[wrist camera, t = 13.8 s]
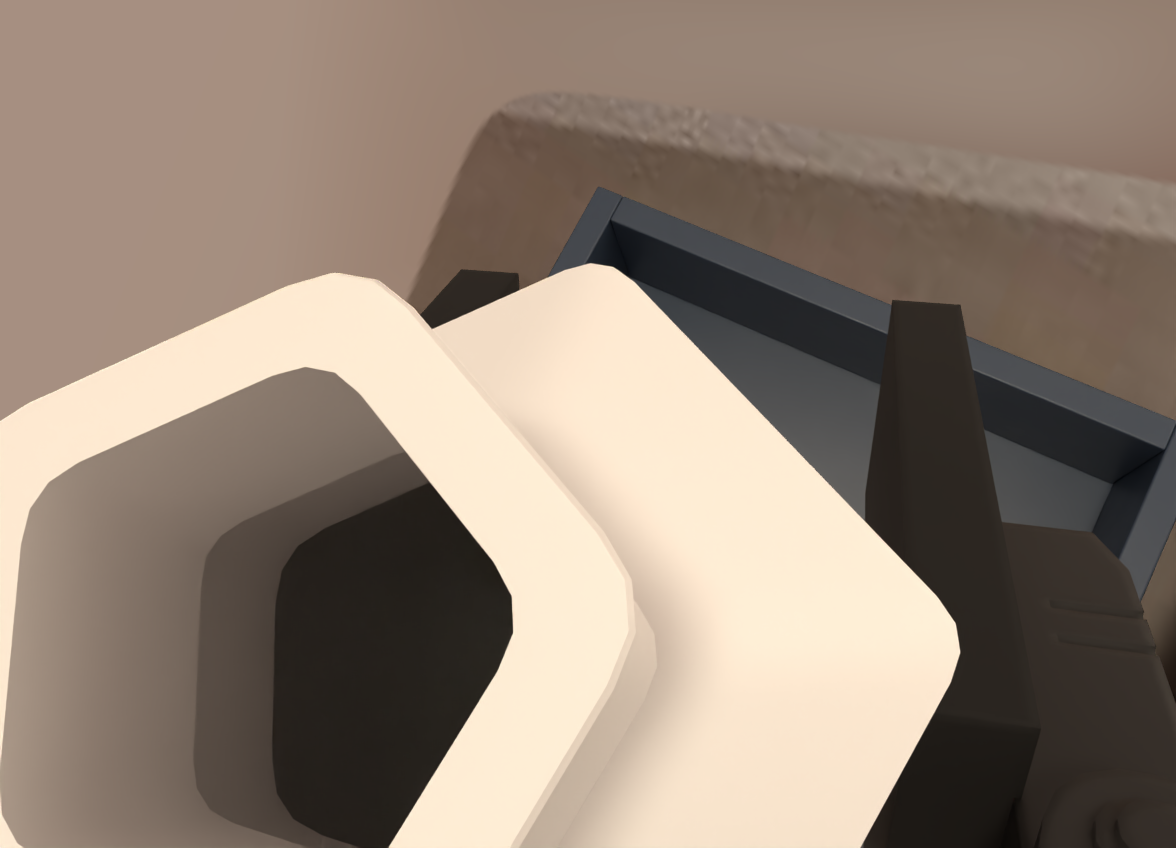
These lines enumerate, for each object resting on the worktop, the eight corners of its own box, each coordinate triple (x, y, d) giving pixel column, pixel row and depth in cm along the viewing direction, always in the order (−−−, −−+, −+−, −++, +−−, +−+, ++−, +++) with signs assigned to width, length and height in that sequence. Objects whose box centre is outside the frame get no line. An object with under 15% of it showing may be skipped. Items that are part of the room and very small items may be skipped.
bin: (366, 726, 31) (294, 730, 26) (622, 256, 33) (598, 185, 29) (892, 1050, 26) (916, 1125, 21) (1143, 478, 29) (1213, 435, 24)
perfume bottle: (851, 838, 16) (1427, 1835, 2) (576, 851, 17) (-557, 1650, 3) (814, 548, 17) (986, -187, 3) (561, 571, 18) (-247, 49, 4)
